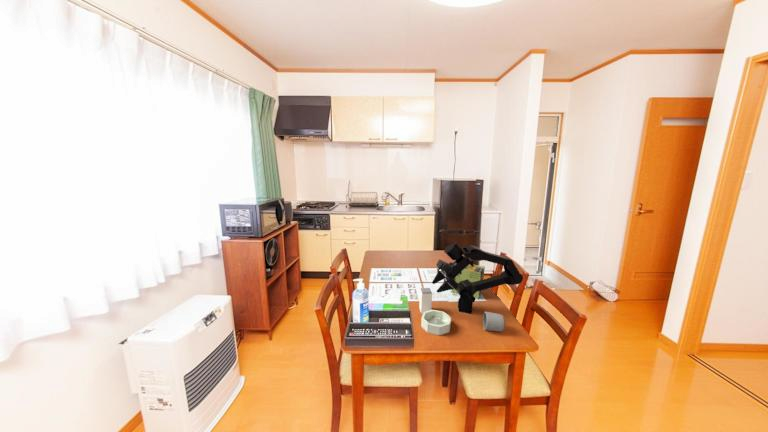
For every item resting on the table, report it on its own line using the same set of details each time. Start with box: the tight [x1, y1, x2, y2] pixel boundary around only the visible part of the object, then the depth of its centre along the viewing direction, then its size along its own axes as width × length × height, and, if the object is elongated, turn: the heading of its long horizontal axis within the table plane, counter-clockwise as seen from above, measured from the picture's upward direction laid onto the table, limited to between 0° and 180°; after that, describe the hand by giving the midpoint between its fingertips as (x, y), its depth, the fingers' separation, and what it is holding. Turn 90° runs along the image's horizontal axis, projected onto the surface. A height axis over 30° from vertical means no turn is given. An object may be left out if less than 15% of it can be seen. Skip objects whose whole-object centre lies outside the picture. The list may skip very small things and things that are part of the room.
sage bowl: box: [420, 309, 452, 336], centre depth 119 cm, size 13×13×4 cm
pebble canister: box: [418, 287, 433, 314], centre depth 131 cm, size 5×5×11 cm
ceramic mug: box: [482, 311, 506, 333], centre depth 119 cm, size 11×8×8 cm
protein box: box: [451, 263, 485, 300], centre depth 151 cm, size 10×15×16 cm
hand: (434, 287), depth 130 cm, fingers open, 9 cm apart
